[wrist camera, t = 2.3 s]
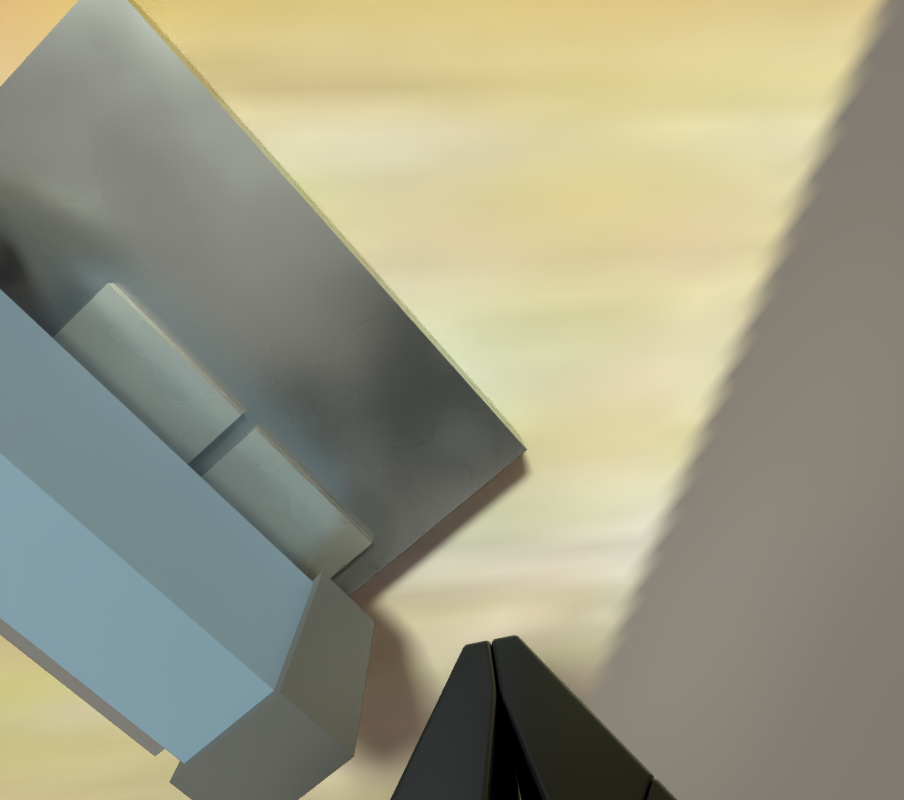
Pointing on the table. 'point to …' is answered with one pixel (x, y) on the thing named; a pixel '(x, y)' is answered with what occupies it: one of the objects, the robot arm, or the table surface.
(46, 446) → the lever
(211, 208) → the lid
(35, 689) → the table surface
